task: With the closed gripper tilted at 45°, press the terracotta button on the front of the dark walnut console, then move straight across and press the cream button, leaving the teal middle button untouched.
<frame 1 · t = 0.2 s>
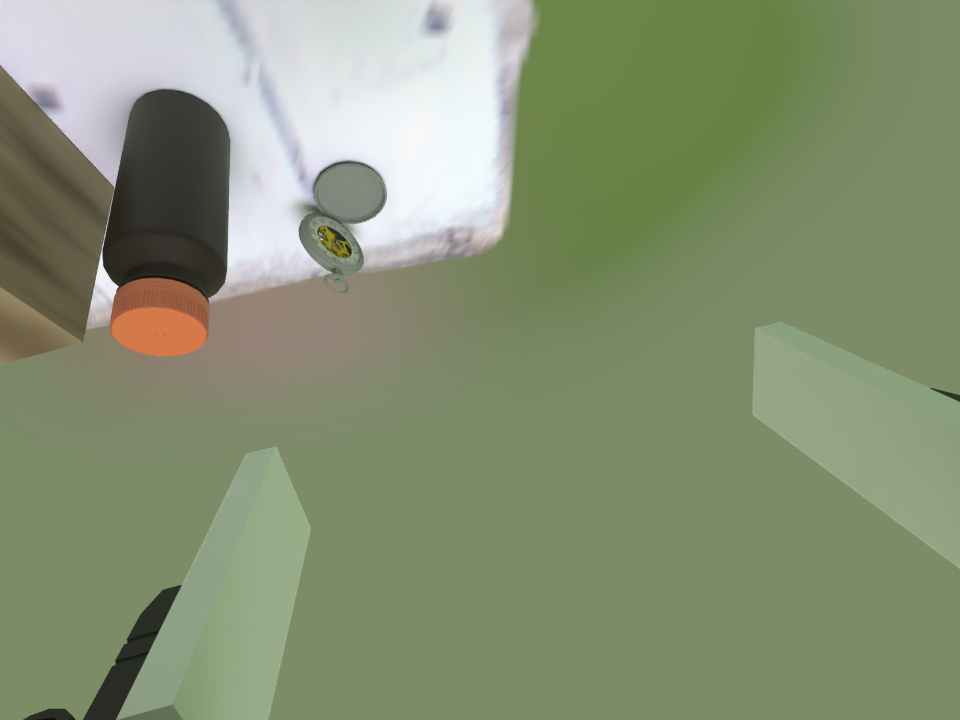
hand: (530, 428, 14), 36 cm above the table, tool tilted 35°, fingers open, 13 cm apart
bottle: (182, 128, 40), on the table
pocket watch: (341, 195, 49), on the table
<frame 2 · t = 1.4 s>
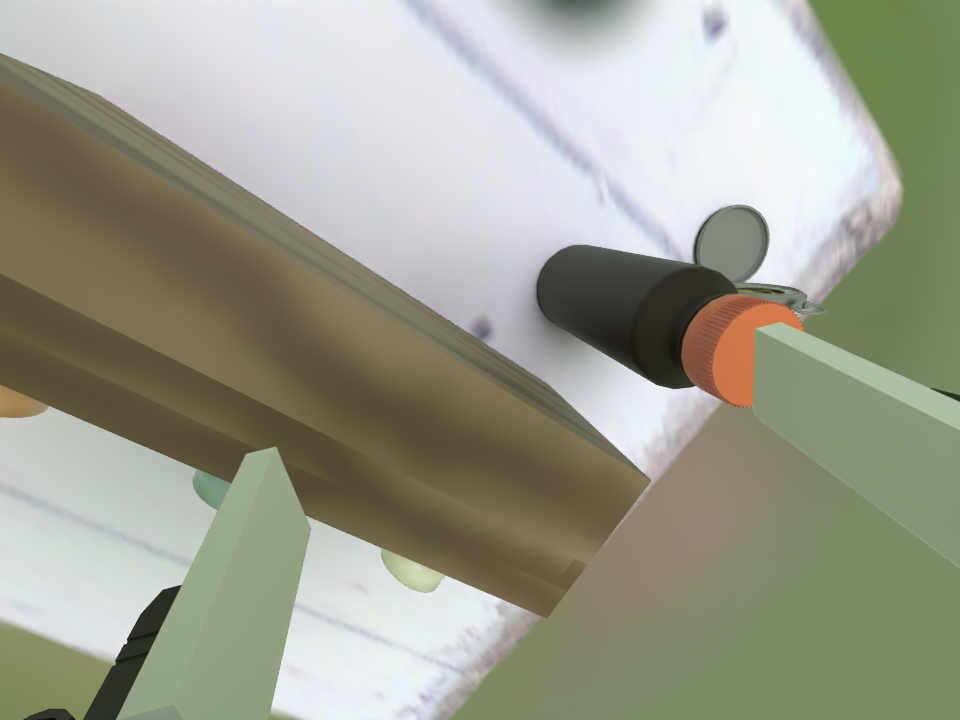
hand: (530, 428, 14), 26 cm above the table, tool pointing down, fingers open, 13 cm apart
teal button: (257, 452, 29), point 10 cm above the table, slide at 0.0 cm
terracotta button: (20, 343, 24), point 10 cm above the table, slide at 0.0 cm
cream button: (433, 533, 33), point 10 cm above the table, slide at 0.0 cm
console: (325, 321, 37), on the table
bottle: (574, 286, 41), on the table
pocket watch: (721, 259, 44), on the table
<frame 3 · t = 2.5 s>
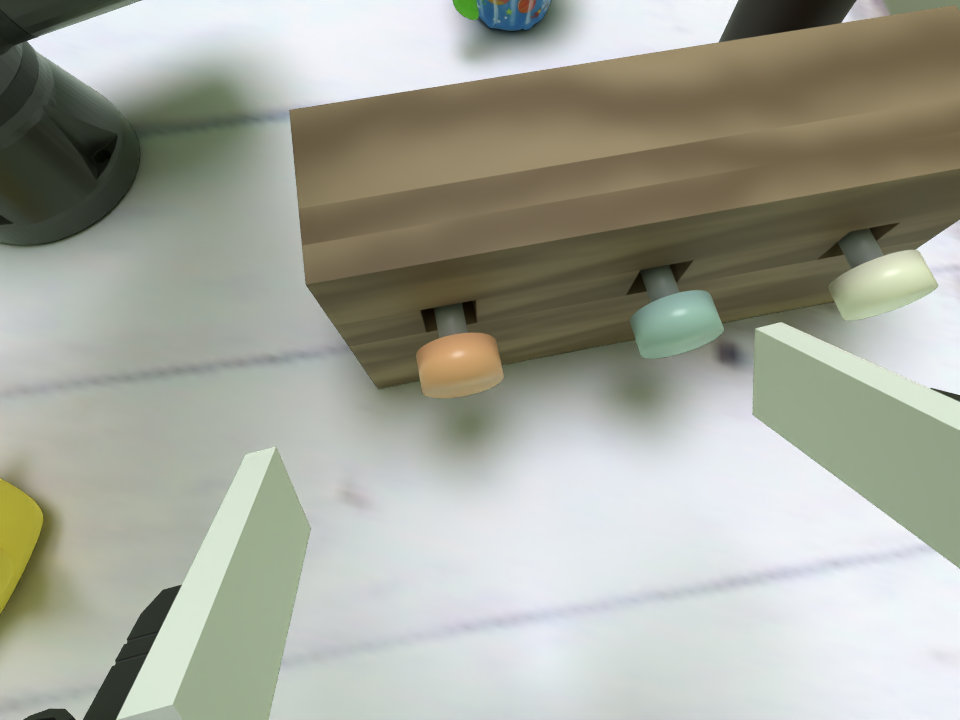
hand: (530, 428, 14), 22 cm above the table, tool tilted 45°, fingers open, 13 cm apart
teal button: (665, 297, 28), point 10 cm above the table, slide at 0.0 cm
terracotta button: (454, 337, 28), point 10 cm above the table, slide at 0.0 cm
cream button: (866, 260, 29), point 10 cm above the table, slide at 0.0 cm
console: (597, 285, 40), on the table
snack cup: (510, 10, 51), on the table
bottle: (719, 130, 45), on the table
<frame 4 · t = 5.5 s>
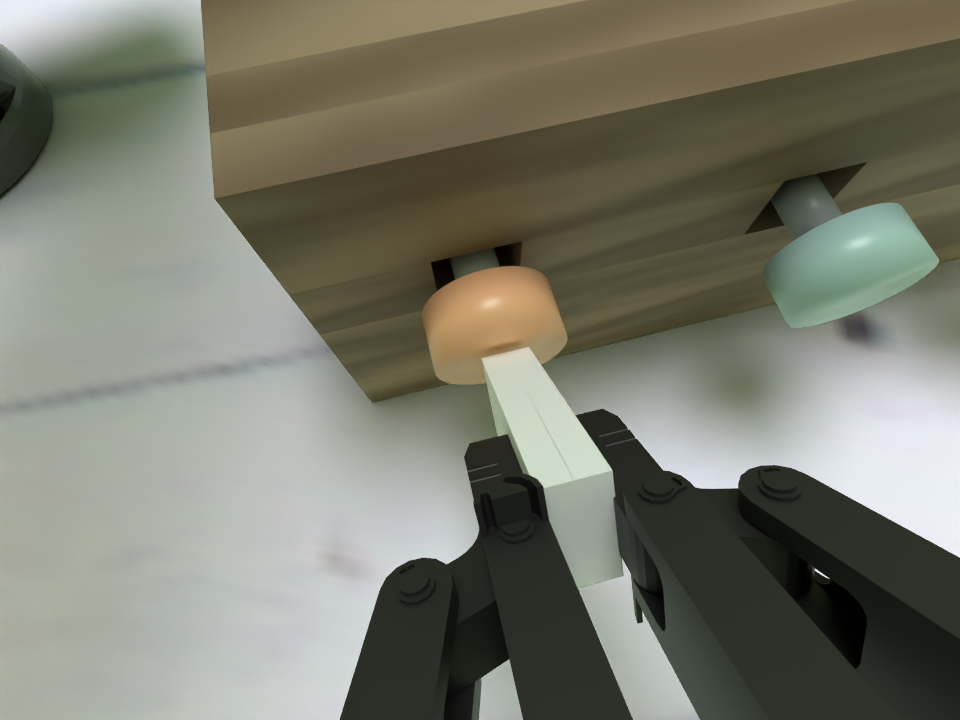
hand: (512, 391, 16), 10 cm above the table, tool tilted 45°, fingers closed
teal button: (818, 228, 18), point 10 cm above the table, slide at 0.0 cm
terracotta button: (480, 285, 17), point 10 cm above the table, slide at 0.9 cm, touching gripper
console: (663, 246, 29), on the table
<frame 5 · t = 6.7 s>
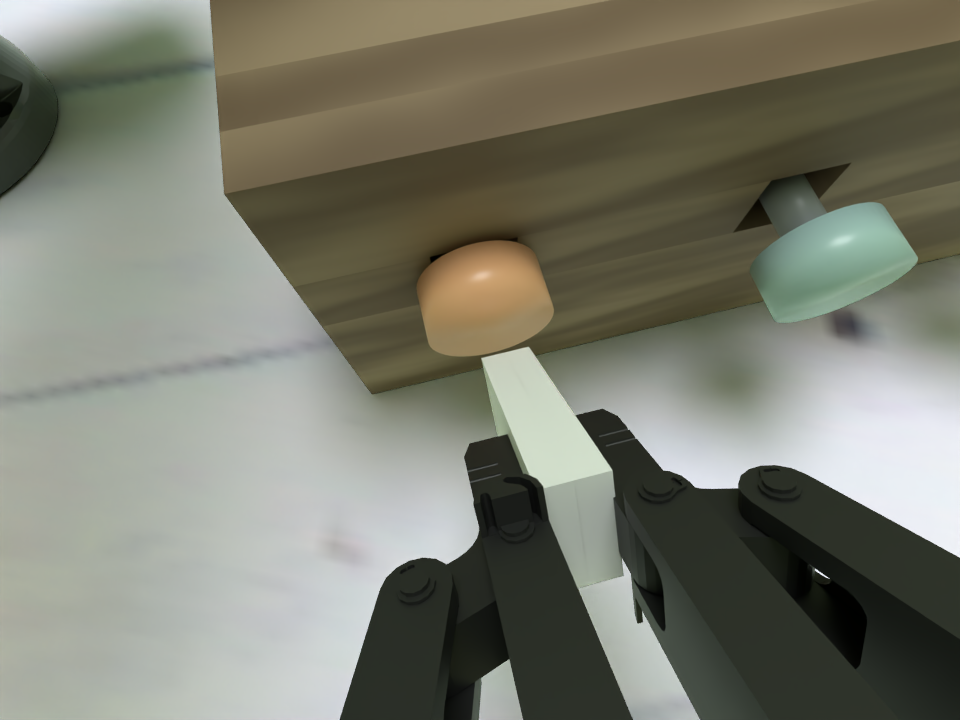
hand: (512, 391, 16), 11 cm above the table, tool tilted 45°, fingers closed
teal button: (804, 227, 19), point 10 cm above the table, slide at 0.0 cm
terracotta button: (472, 261, 18), point 10 cm above the table, slide at 1.7 cm
console: (658, 244, 30), on the table
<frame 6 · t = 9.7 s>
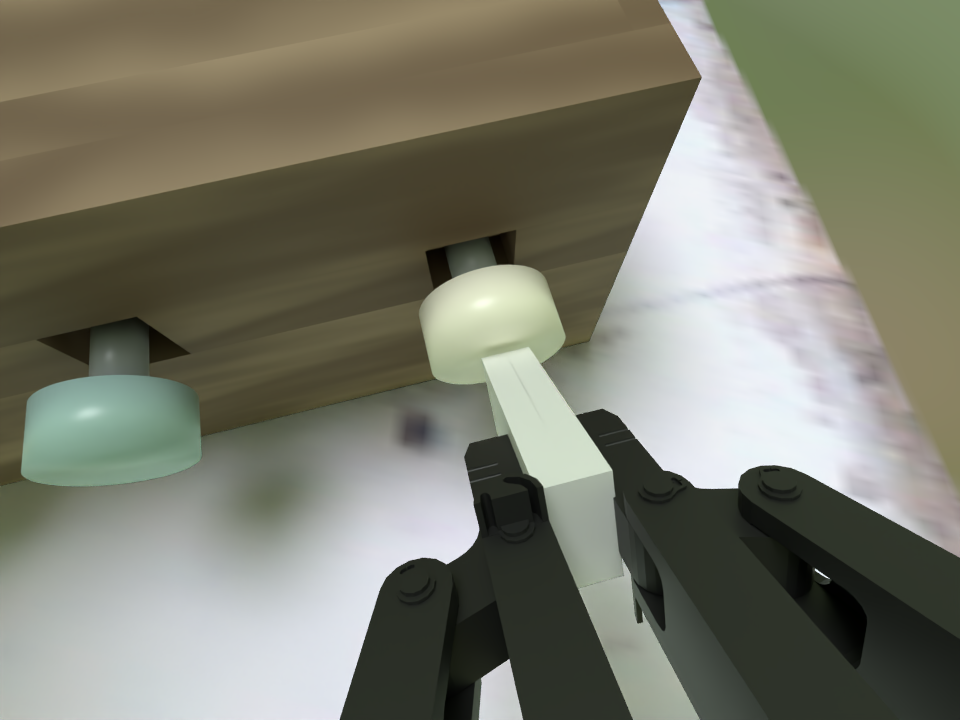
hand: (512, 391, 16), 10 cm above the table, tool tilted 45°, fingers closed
teal button: (119, 382, 16), point 10 cm above the table, slide at 0.0 cm
cream button: (478, 284, 17), point 10 cm above the table, slide at 0.5 cm, touching gripper
console: (246, 337, 28), on the table
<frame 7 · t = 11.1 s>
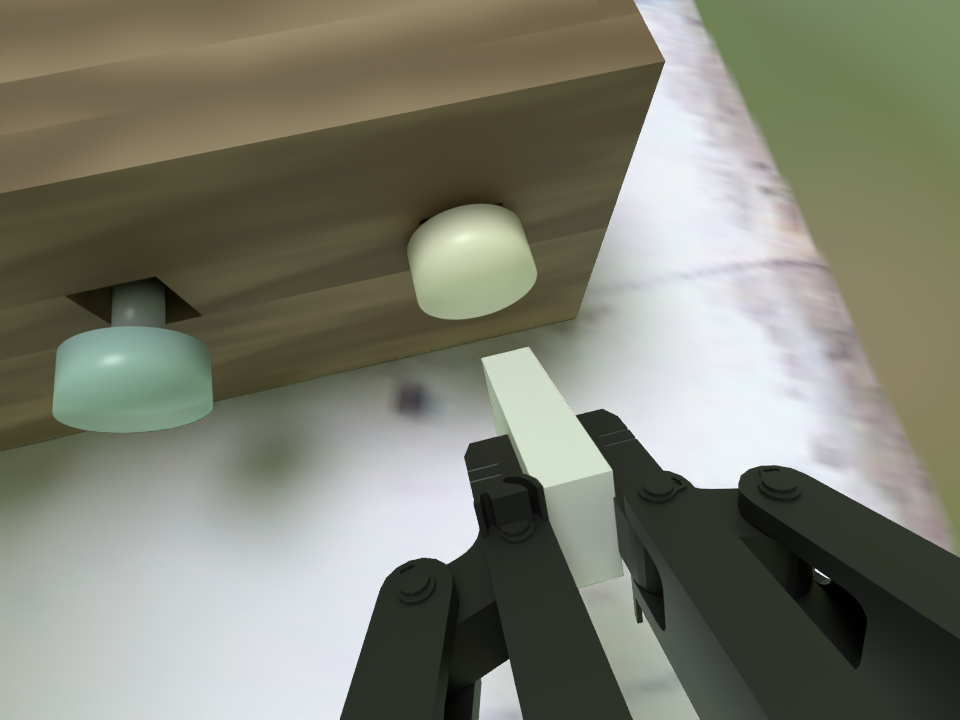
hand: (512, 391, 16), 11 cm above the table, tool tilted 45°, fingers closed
teal button: (139, 337, 18), point 10 cm above the table, slide at 0.0 cm
cream button: (460, 227, 19), point 10 cm above the table, slide at 1.7 cm
console: (251, 311, 29), on the table
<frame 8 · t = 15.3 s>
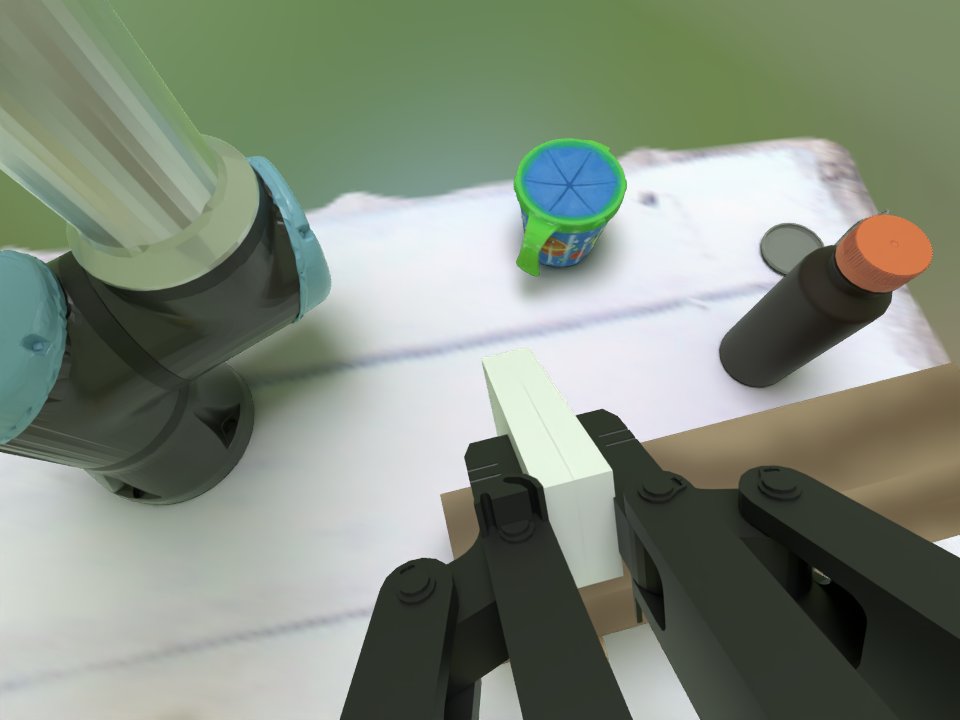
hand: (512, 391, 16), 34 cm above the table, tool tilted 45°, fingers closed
terracotta button: (564, 622, 35), point 10 cm above the table, slide at 1.7 cm
console: (660, 520, 47), on the table
snack cup: (558, 242, 58), on the table
bottle: (751, 357, 52), on the table
pocket watch: (797, 260, 56), on the table
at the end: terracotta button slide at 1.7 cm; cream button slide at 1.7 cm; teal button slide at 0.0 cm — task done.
